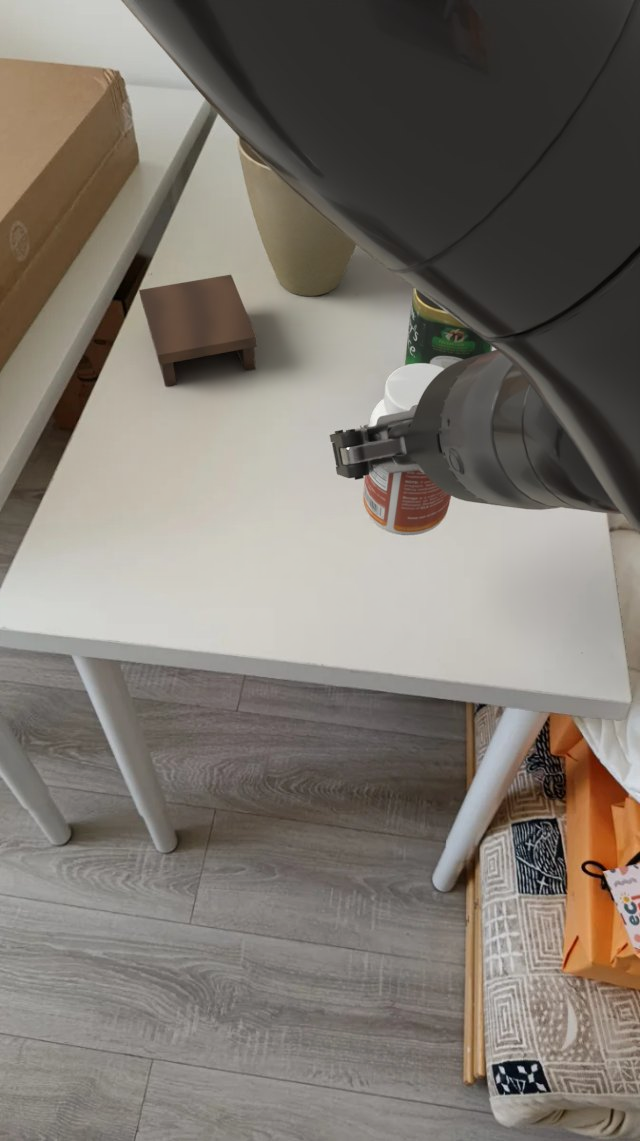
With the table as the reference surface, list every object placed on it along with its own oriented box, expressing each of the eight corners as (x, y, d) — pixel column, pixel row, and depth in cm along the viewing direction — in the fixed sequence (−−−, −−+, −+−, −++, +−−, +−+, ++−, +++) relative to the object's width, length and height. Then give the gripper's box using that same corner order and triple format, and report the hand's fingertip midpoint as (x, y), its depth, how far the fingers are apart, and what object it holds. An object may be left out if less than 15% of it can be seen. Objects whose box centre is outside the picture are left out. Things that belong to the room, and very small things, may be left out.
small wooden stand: (164, 390, 80) (157, 355, 76) (146, 325, 86) (138, 289, 82) (258, 372, 81) (256, 336, 78) (234, 309, 87) (231, 274, 84)
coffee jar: (404, 372, 82) (426, 202, 66) (480, 382, 81) (519, 213, 66) (392, 437, 76) (413, 267, 61) (473, 448, 75) (514, 280, 60)
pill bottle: (458, 490, 57) (488, 370, 48) (431, 550, 54) (458, 434, 45) (379, 464, 58) (394, 343, 49) (348, 521, 55) (358, 403, 46)
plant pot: (379, 315, 87) (391, 174, 74) (246, 318, 87) (235, 176, 74) (367, 240, 96) (376, 101, 83) (247, 242, 95) (237, 103, 82)
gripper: (642, 321, 37) (491, 362, 53) (359, 374, 35) (290, 401, 51) (660, 474, 39) (507, 469, 55) (389, 538, 36) (312, 513, 52)
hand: (403, 436), depth 53 cm, fingers closed on pill bottle, 6 cm apart
